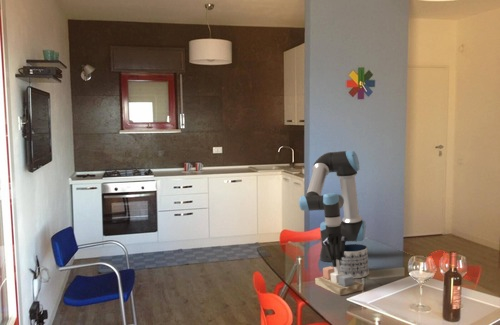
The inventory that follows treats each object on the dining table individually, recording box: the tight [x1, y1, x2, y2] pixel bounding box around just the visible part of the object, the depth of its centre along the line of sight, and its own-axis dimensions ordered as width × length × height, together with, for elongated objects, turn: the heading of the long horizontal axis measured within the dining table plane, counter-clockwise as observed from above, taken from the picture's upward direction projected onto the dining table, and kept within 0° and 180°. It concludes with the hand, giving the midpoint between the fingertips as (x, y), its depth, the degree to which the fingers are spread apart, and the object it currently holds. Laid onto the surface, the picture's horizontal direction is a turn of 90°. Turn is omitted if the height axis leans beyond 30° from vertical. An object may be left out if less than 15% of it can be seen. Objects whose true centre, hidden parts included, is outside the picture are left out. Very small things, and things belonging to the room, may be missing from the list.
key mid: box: [330, 272, 345, 284], centre depth 231 cm, size 5×5×5 cm
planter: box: [340, 243, 370, 280], centre depth 249 cm, size 16×16×14 cm
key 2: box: [338, 275, 354, 287], centre depth 225 cm, size 5×5×5 cm
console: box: [314, 276, 364, 296], centre depth 231 cm, size 13×22×3 cm, turn 23°
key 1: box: [322, 265, 335, 280], centre depth 238 cm, size 5×5×5 cm
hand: (337, 272), depth 231 cm, fingers closed
